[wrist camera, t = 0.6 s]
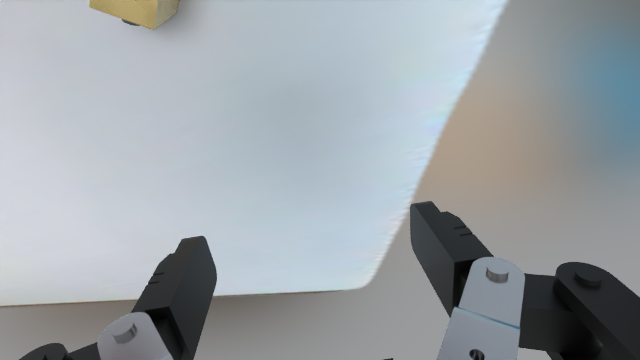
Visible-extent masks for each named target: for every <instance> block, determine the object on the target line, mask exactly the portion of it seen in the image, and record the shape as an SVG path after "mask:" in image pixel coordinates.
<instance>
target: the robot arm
mask: <svg viewBox="0 0 640 360" xmlns="http://www.w3.org/2000/svg"><path fill="white" fill-rule="evenodd" d="M410 231H411V243H412V247H413V251H414V253H415V255H416V257H417V259H418V261H419V262H420V264H421V266H422V268H423V270H424V271H425V273H426V275H427V277H428V279H429V280H430V282H431V284H432V286H433V288H434V290H435V291H436V293H437V295H438V297H439V298H440V300H441V302H442V304H443V306H444V308H445V309H446V311H447V313H448V315H449V317H450V321H449V324H448V327H447V330H446V333H445V336H444V339H443V342H442V345H441V348H440V351H439V354H438V357H437V360H517V353H518V347H520V348H527V349H535V350H542V351H546V352H547V354H548V355H549V356H550V358H551V359H552V360H640V297H638V296H637V295H636V294H635V293H634V292H632V291H631V290H630V289H629V288H628V287H626V286H625V285H624V284H623V283H621V282H620V281H619V280H618V279H617V278H615V277H614V276H613V275H612V274H610V273H609V272H607V271H605V270H603V269H601V268H599V267H596V266H593V265H590V264H586V263H580V262H568V263H564V264H561V265H560V266H559V267H558V268H557V270H556V275H555V276H547V275H533V274H525V273H523V271H522V270H521V269H520V268H519V267H518V266H517V265H516V264H514V263H512V262H510V261H508V260H506V259H502V258H498V257H494V256H493V255H492V254H491V253H490V252H489V251H488V250H487V248H486V247H485V246H484V245H483V244H482V243H481V242H480V241H479V240H478V238H477V237H476V236H475V235H473V234H472V232H471V231H470V229H469V228H467V227H466V225H465V224H464V223H463V222H462V220H461V219H460V218H459V217H457V216H455V215H453V214H451V213H449V212H440V211H439V210H438V208H437V207H436V206H435V205H434V203H433V202H432V201H427V202H421V203H414V204H411V206H410ZM216 281H217V273H216V267H215V264H214V261H213V258H212V255H211V253H210V250H209V247H208V244H207V241H206V239H205V237H204V236H198V237H191V238H185V239H182V240H181V242H180V244H179V246H178V247H177V249H176V251H175V253H173V254H169V255H168V256H167V257H166V258H165V259H164V260H163V261H161V262H160V263H159V265H158V266H157V268H156V270H155V272H154V273H153V276H152V277H151V279H150V280H149V282H148V285H147V286H146V287H145V289H144V291H143V293H142V294H141V296H140V298H139V300H138V301H137V303H136V305H135V307H134V308H133V310H132V312H131V313H130V314H127V315H125V316H123V317H121V318H119V319H117V320H116V321H114V322H113V323H112V324H110V325H109V326H108V327H107V328H106V329H105V330H104V331H103V332H102V334H101V335H100V337H99V339H98V342H96V343H94V344H91V345H89V346H86V347H84V348H81V349H78V350H76V351H73V352H71V353H68V351H67V350H66V348H65V347H64V345H62V344H60V343H51V344H47V345H44V346H41V347H39V348H37V349H35V350H33V351H31V352H30V353H28V354H26V355H25V356H23V357H22V358H21V359H19V360H193V359H194V356H195V352H196V349H197V346H198V342H199V339H200V336H201V332H202V329H203V326H204V323H205V319H206V316H207V313H208V309H209V306H210V302H211V299H212V296H213V293H214V289H215V286H216ZM384 360H393V358H391V359H384Z"/></svg>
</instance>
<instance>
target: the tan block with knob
mask: <svg viewBox="0 0 640 360" xmlns="http://www.w3.org/2000/svg"><path fill="white" fill-rule="evenodd" d="M178 3H179V0H90V6H89V7H91V8H93V9H96V10H99V11H102V12H105V13H107V14H110V15H113V16H116V17H119V18H121V19H122V21H123V22H125V23H127V24H130V25H134V26H140V25H141V26H144V27H147V28H150V29H152V30H154V29H156V28H157V27H158V26H160V25H161V24H162V23H164V22H165V21H166V20H167V19H169V18H170V17H171V16H173V15H174V14H175V13H177V10H178Z"/></svg>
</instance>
